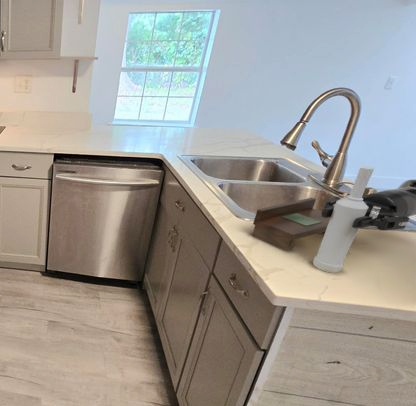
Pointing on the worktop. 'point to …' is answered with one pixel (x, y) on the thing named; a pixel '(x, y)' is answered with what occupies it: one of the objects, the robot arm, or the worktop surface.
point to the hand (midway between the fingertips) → (339, 218)
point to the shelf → (288, 223)
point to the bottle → (343, 226)
